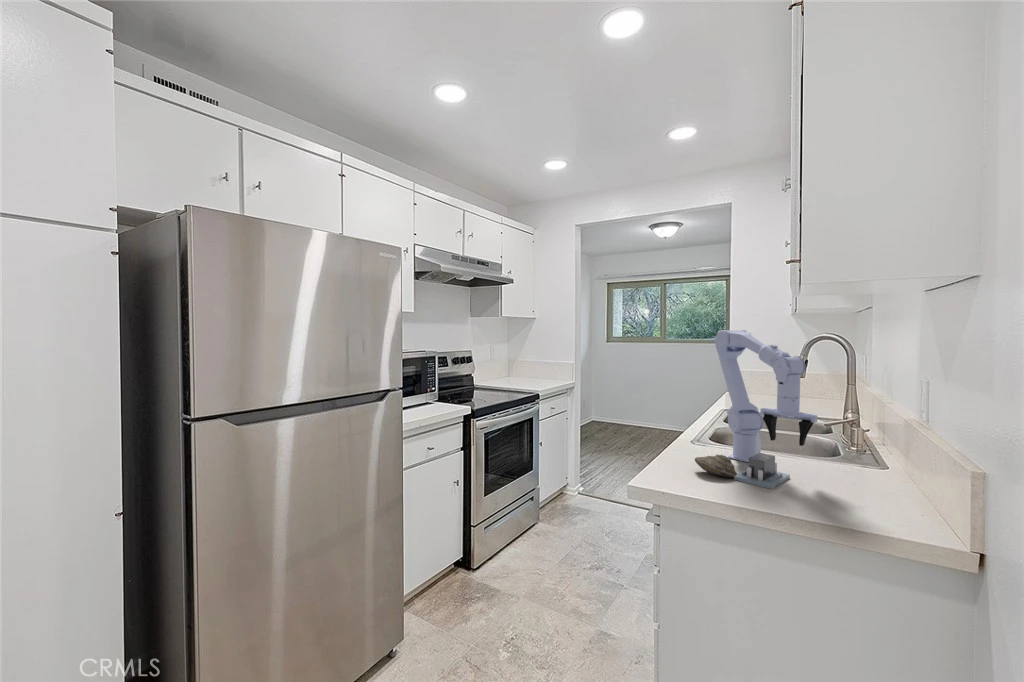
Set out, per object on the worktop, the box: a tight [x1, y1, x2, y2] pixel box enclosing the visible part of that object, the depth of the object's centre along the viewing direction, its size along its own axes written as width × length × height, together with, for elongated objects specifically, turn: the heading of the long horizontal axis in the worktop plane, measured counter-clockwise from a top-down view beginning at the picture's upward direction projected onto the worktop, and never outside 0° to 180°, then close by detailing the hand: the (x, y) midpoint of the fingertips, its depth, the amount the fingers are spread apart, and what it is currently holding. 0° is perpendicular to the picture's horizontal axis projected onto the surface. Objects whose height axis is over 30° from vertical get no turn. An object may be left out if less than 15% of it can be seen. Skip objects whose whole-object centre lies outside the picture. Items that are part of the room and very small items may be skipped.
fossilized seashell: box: [694, 454, 738, 478], centre depth 133 cm, size 11×10×7 cm
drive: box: [748, 452, 776, 480], centre depth 129 cm, size 8×4×6 cm, turn 131°
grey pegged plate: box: [733, 461, 791, 490], centre depth 129 cm, size 14×10×4 cm
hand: (787, 442), depth 132 cm, fingers open, 7 cm apart
